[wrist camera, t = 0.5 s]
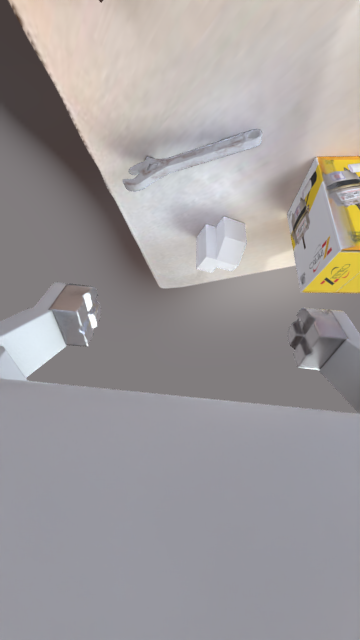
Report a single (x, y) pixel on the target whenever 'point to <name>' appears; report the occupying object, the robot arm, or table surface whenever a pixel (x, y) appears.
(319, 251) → the packaging box
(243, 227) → the corner bracket
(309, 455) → the robot arm
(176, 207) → the table surface
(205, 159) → the wrench
